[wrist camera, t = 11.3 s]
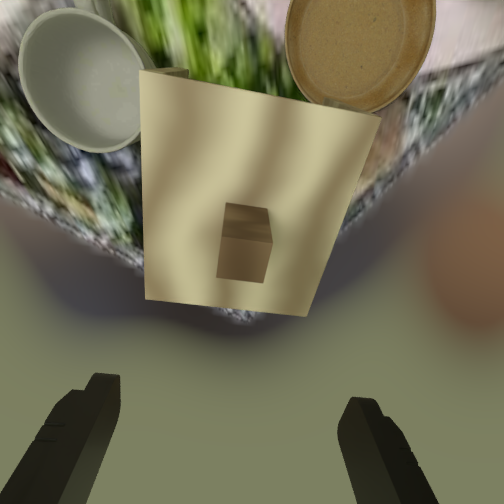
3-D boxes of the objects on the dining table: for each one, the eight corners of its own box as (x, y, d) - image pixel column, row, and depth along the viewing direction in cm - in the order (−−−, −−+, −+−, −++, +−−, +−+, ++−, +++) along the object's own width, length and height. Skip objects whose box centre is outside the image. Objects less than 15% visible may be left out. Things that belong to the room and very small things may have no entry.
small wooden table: (335, 98, 31) (422, 133, 16) (290, 252, 41) (317, 361, 26) (176, 67, 29) (104, 72, 14) (171, 236, 39) (126, 344, 24)
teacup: (158, 157, 35) (137, 169, 28) (61, 124, 33) (12, 128, 26) (187, 20, 29) (171, -9, 22) (72, -29, 27) (14, -79, 20)
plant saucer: (347, -100, 26) (358, -121, 24) (450, 18, 31) (468, 11, 28) (253, 59, 31) (254, 54, 29) (353, 142, 35) (361, 145, 33)
